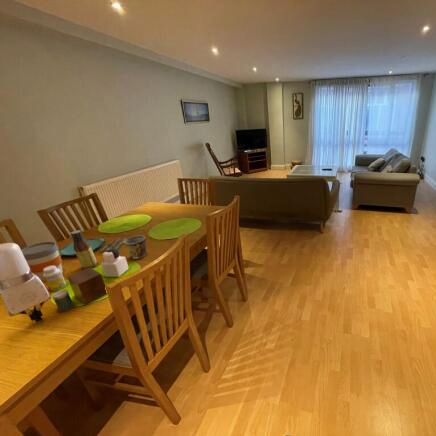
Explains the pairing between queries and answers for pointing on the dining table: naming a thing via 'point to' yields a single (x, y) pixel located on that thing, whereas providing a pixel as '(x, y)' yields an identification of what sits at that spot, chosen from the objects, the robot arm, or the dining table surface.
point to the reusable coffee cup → (42, 257)
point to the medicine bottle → (113, 263)
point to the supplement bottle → (53, 278)
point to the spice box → (87, 285)
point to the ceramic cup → (136, 246)
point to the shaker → (63, 300)
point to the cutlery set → (92, 242)
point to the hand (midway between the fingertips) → (38, 319)
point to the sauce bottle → (83, 250)
